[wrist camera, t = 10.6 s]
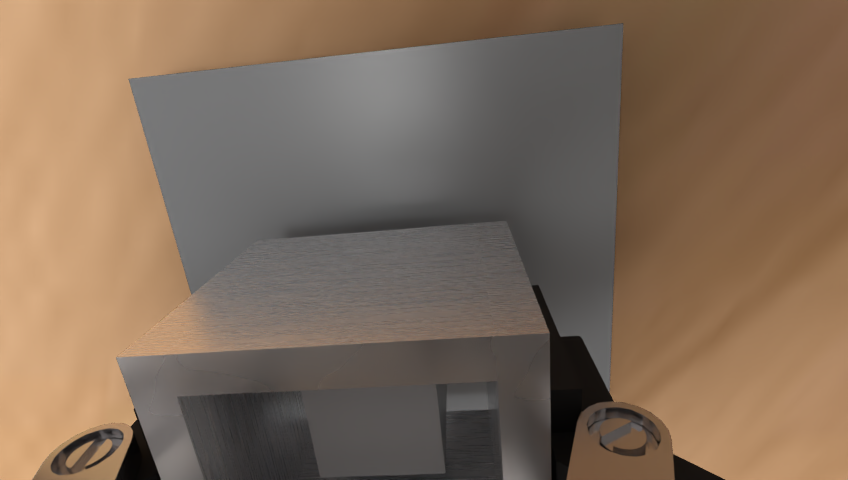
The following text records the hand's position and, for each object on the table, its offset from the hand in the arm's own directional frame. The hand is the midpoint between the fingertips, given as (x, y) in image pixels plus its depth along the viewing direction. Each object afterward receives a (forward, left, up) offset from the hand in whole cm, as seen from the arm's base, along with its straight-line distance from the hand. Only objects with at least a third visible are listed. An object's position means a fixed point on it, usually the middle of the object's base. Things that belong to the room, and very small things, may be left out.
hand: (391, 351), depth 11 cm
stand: (0, 0, -4) cm, 4 cm away
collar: (0, 0, -1) cm, 1 cm away
